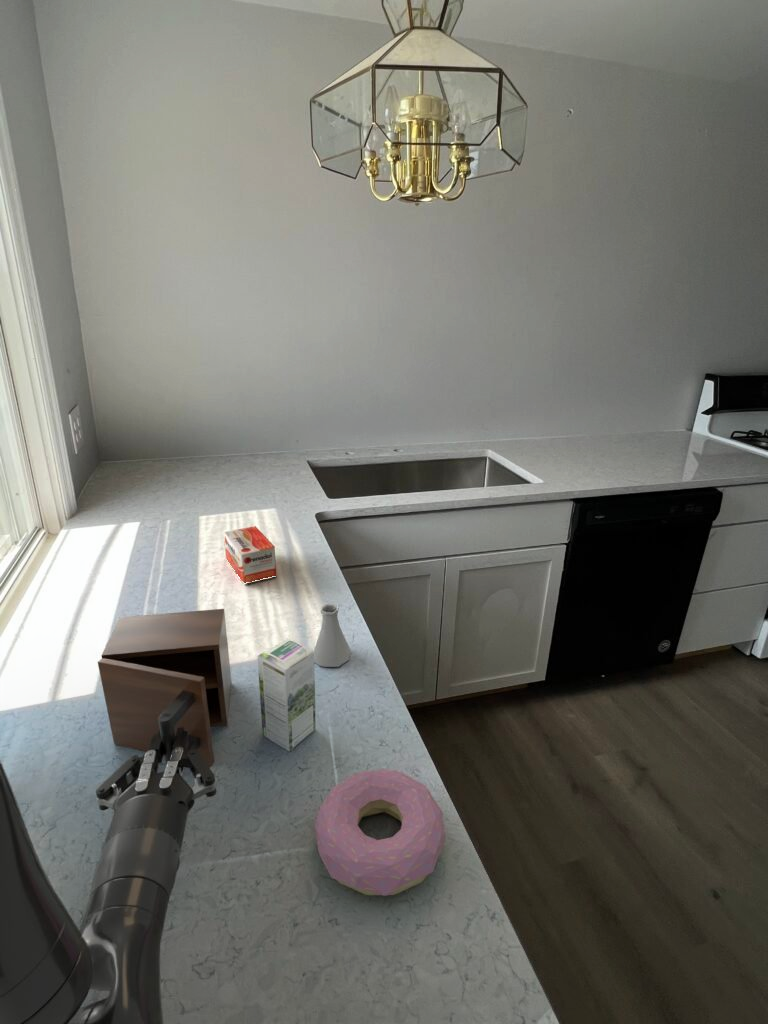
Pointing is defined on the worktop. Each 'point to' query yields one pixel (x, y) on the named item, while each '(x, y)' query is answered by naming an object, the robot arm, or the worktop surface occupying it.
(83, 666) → the worktop surface
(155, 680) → the door
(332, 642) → the flask
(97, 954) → the robot arm
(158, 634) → the cabinet
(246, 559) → the medicine box
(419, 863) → the donut
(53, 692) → the worktop surface
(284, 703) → the syrup box
